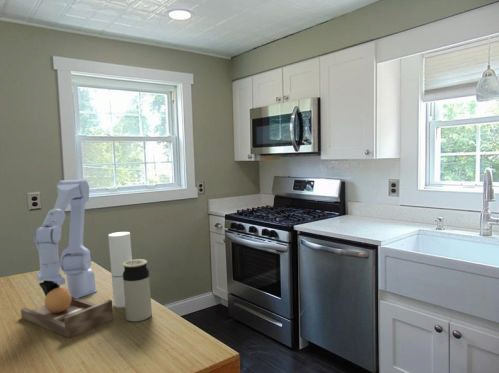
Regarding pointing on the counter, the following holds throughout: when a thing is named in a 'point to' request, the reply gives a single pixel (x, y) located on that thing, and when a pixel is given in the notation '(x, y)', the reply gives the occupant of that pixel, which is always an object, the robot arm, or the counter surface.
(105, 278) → the counter surface
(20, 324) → the counter surface
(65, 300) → the ball
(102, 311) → the tray
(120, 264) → the cylindrical container
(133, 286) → the travel mug
